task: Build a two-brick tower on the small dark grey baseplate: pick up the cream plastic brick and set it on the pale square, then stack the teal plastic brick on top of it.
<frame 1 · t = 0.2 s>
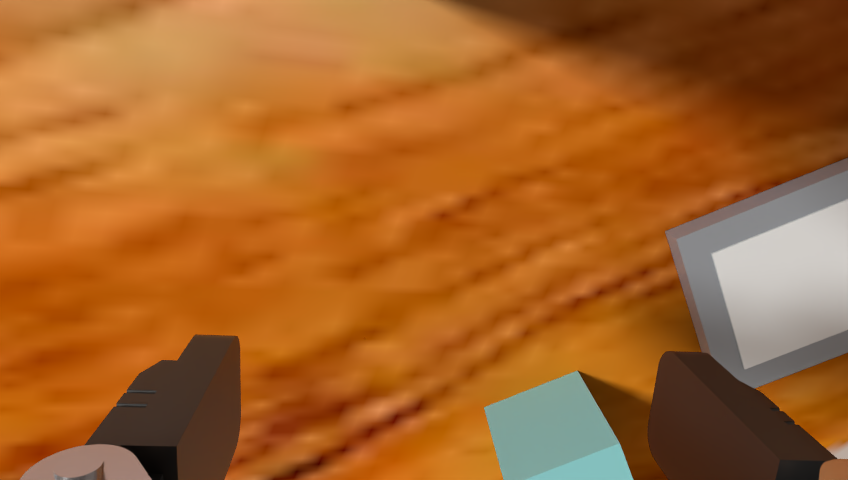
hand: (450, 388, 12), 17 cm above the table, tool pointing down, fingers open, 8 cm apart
teal brick: (546, 427, 33), on the table
baseplate: (778, 277, 31), on the table
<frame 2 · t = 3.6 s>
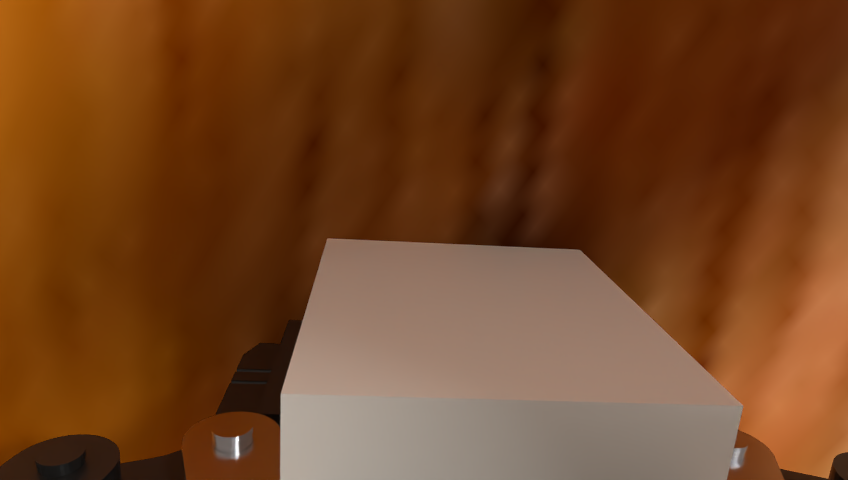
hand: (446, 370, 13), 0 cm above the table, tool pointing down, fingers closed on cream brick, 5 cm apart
cream brick: (446, 360, 13), on the table, touching gripper
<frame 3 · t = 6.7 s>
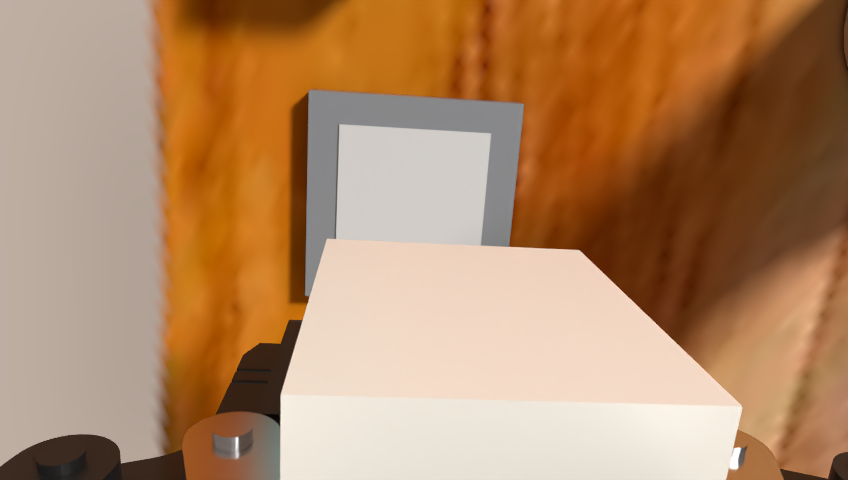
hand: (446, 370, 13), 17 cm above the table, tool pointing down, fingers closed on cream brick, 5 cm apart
baseplate: (410, 197, 29), on the table
cream brick: (445, 360, 13), point 16 cm above the table, touching gripper
when the fingers open (3 cm above the table, at t = 9.7 s): cream brick stays where it is, resting on baseplate.
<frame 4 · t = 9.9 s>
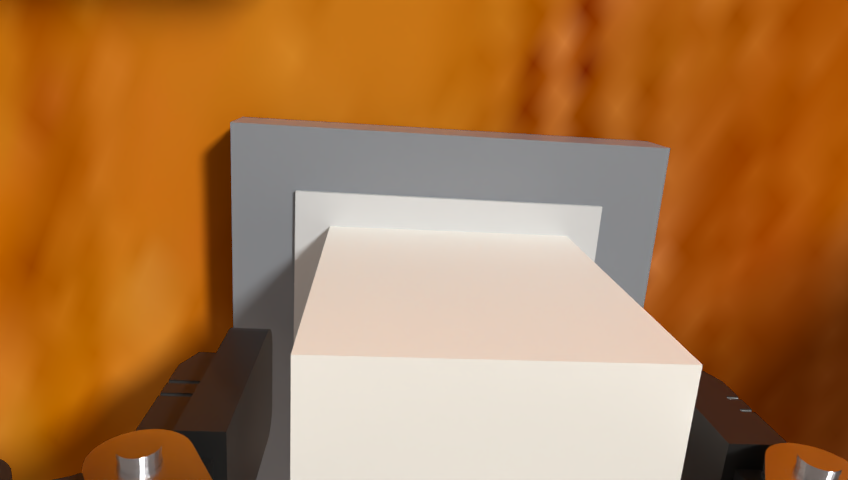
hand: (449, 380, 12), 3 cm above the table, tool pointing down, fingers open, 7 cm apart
baseplate: (435, 318, 15), on the table
cream brick: (442, 340, 14), point 1 cm above the table, touching baseplate
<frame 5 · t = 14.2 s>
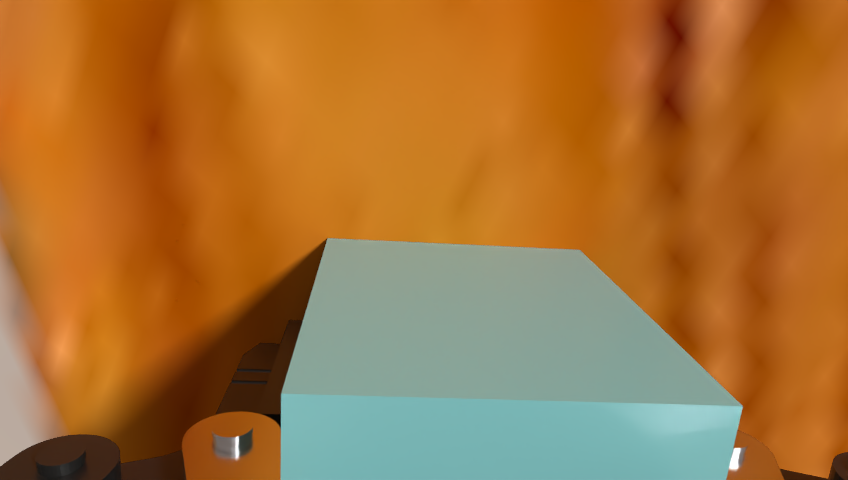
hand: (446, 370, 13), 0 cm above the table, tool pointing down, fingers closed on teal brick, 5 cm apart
teal brick: (446, 360, 13), on the table, touching gripper
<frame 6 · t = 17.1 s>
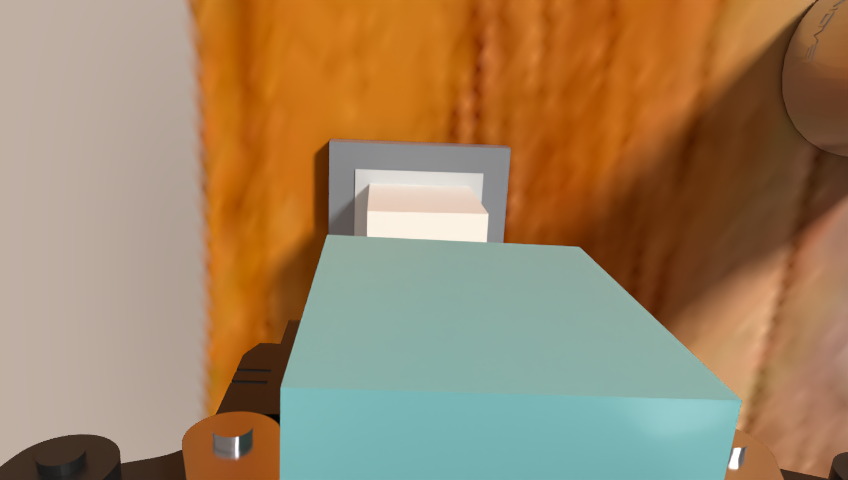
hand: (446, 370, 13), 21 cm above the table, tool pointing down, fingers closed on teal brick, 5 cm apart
teal brick: (445, 356, 13), point 21 cm above the table, touching gripper
baseplate: (415, 227, 34), on the table
cream brick: (417, 233, 33), point 1 cm above the table, touching baseplate
when the fingers open (9 cm above the table, at t = 20.2 s): teal brick stays where it is, resting on cream brick.
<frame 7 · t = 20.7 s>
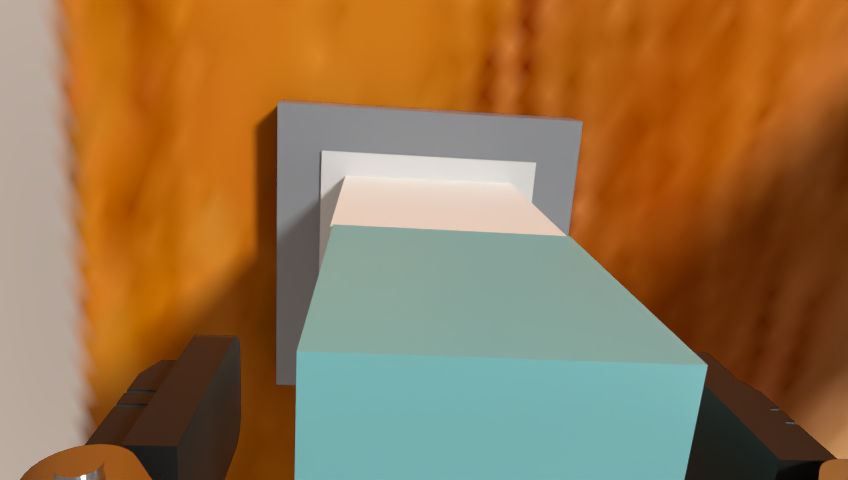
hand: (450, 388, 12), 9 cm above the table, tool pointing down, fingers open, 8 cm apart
teal brick: (444, 339, 14), point 7 cm above the table, touching cream brick
baseplate: (420, 247, 21), on the table
cream brick: (424, 259, 20), point 1 cm above the table, touching baseplate, teal brick
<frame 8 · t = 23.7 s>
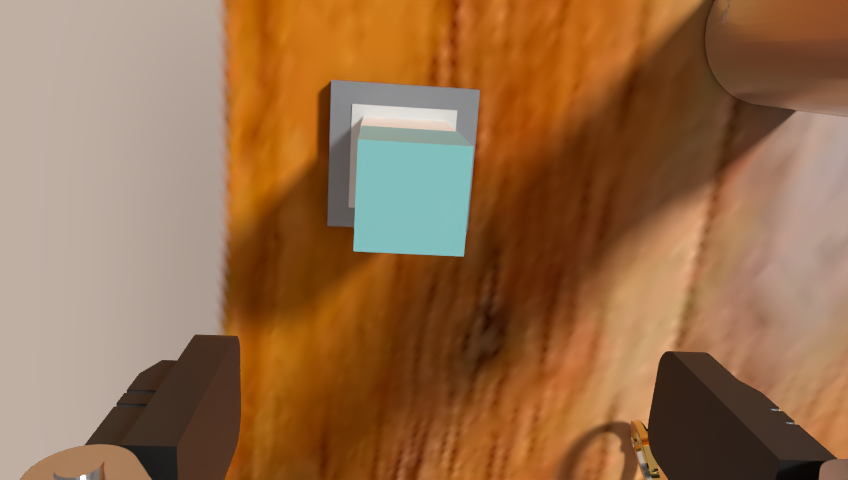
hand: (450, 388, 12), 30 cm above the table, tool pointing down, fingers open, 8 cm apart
ring: (635, 437, 48), on the table
teal brick: (407, 176, 34), point 7 cm above the table, touching cream brick
baseplate: (401, 156, 41), on the table
cream brick: (402, 159, 40), point 1 cm above the table, touching baseplate, teal brick
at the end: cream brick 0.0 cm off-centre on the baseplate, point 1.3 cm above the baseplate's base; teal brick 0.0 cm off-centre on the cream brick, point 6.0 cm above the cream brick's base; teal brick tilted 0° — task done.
